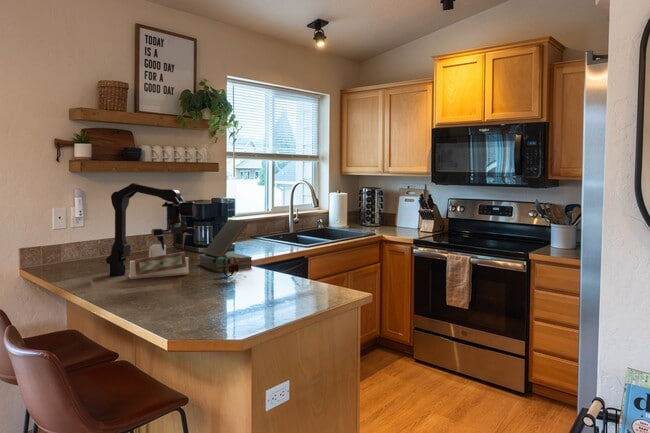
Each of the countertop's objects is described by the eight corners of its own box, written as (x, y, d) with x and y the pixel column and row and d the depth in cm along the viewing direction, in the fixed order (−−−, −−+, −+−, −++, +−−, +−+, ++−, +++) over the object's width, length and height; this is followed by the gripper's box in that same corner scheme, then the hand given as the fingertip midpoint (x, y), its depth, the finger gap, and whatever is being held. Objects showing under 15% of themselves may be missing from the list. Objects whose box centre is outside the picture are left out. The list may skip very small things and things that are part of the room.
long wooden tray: (130, 279, 215) (130, 261, 214) (128, 277, 220) (128, 259, 220) (188, 274, 228) (188, 257, 228) (185, 272, 233) (185, 256, 233)
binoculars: (221, 274, 230) (221, 253, 229) (240, 275, 227) (240, 254, 226) (211, 277, 221) (211, 255, 221) (231, 278, 218) (231, 256, 218)
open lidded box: (199, 266, 255) (198, 219, 254) (232, 263, 267) (232, 218, 266) (216, 272, 237) (216, 222, 236) (252, 268, 248) (252, 220, 247)
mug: (168, 267, 248) (168, 244, 248) (159, 269, 242) (159, 245, 242) (154, 266, 253) (153, 243, 252) (144, 268, 246) (144, 244, 246)
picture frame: (137, 275, 214) (135, 260, 213) (136, 274, 215) (134, 259, 215) (186, 266, 225) (184, 252, 224) (185, 266, 227) (183, 251, 226)
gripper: (156, 217, 210) (156, 253, 211) (198, 216, 220) (198, 250, 221) (150, 216, 220) (151, 250, 220) (191, 215, 229) (191, 248, 230)
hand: (173, 249), depth 223 cm, fingers open, 9 cm apart
